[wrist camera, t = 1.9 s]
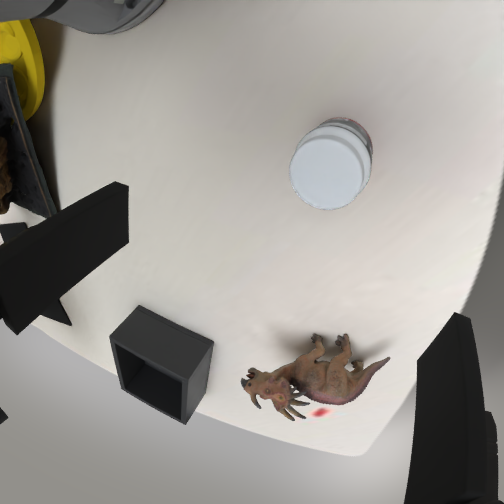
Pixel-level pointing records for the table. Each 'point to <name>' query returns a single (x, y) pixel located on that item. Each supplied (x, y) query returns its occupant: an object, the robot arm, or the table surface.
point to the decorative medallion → (23, 63)
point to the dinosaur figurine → (312, 379)
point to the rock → (19, 155)
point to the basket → (161, 363)
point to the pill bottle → (332, 164)
